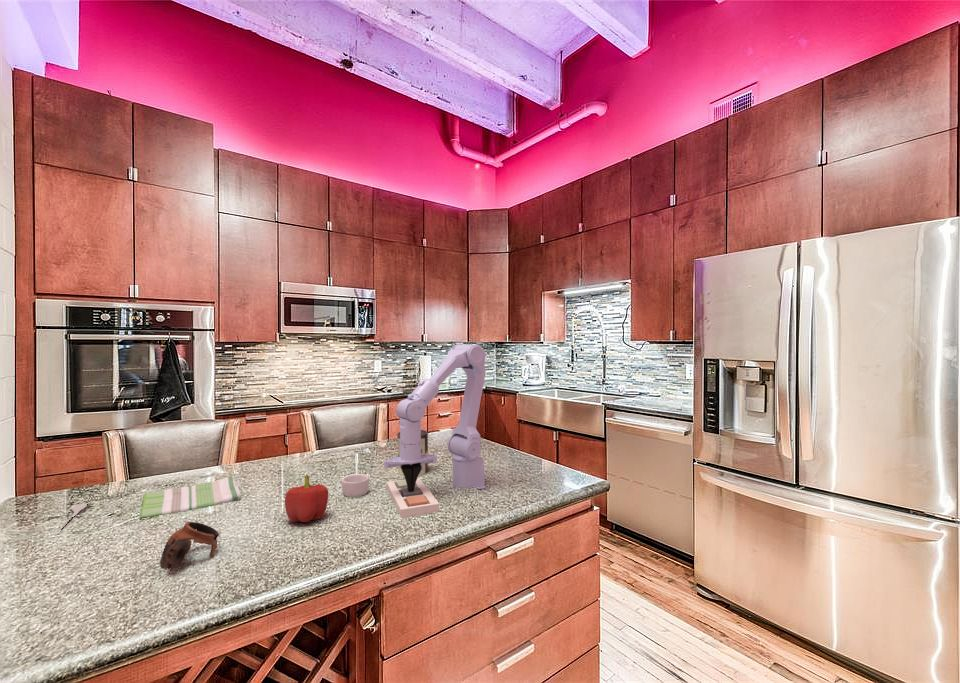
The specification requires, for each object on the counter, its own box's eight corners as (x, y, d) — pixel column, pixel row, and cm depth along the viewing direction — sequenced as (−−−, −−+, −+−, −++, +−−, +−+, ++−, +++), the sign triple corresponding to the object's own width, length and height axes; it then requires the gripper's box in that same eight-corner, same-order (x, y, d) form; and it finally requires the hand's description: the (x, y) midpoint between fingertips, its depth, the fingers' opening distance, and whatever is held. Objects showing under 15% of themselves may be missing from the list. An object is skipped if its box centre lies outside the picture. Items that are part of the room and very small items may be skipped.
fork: (43, 547, 101) (42, 536, 101) (84, 505, 120) (83, 496, 120) (58, 545, 102) (57, 534, 102) (96, 504, 121) (96, 494, 121)
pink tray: (419, 487, 132) (419, 477, 132) (439, 515, 112) (439, 503, 112) (386, 491, 128) (386, 481, 128) (400, 521, 108) (400, 509, 108)
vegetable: (285, 513, 113) (285, 476, 113) (327, 507, 117) (326, 471, 117) (284, 531, 103) (284, 489, 103) (329, 523, 107) (329, 483, 107)
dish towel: (242, 502, 123) (242, 489, 123) (139, 523, 109) (139, 509, 109) (235, 484, 137) (234, 473, 137) (143, 501, 123) (143, 489, 123)
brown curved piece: (167, 554, 93) (189, 516, 96) (209, 570, 95) (230, 532, 97) (139, 568, 82) (165, 525, 85) (186, 586, 83) (211, 543, 86)
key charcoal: (417, 495, 123) (417, 486, 123) (421, 501, 119) (421, 492, 119) (400, 497, 121) (400, 488, 121) (404, 503, 117) (404, 494, 117)
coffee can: (411, 467, 152) (411, 428, 151) (434, 472, 146) (434, 431, 146) (390, 476, 143) (390, 433, 143) (414, 481, 137) (414, 437, 137)
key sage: (412, 486, 130) (411, 478, 130) (415, 492, 125) (415, 483, 125) (396, 489, 128) (396, 480, 128) (399, 494, 123) (399, 486, 123)
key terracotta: (423, 503, 117) (423, 494, 117) (427, 510, 112) (427, 501, 112) (405, 506, 115) (405, 497, 115) (409, 513, 110) (409, 503, 110)
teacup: (370, 499, 123) (370, 480, 123) (343, 503, 120) (342, 484, 120) (366, 487, 132) (365, 470, 132) (339, 491, 129) (339, 473, 129)
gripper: (431, 436, 126) (432, 482, 126) (381, 441, 121) (382, 489, 121) (438, 442, 120) (438, 490, 120) (386, 447, 114) (386, 498, 114)
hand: (410, 490), depth 120 cm, fingers closed, pressing on key charcoal
